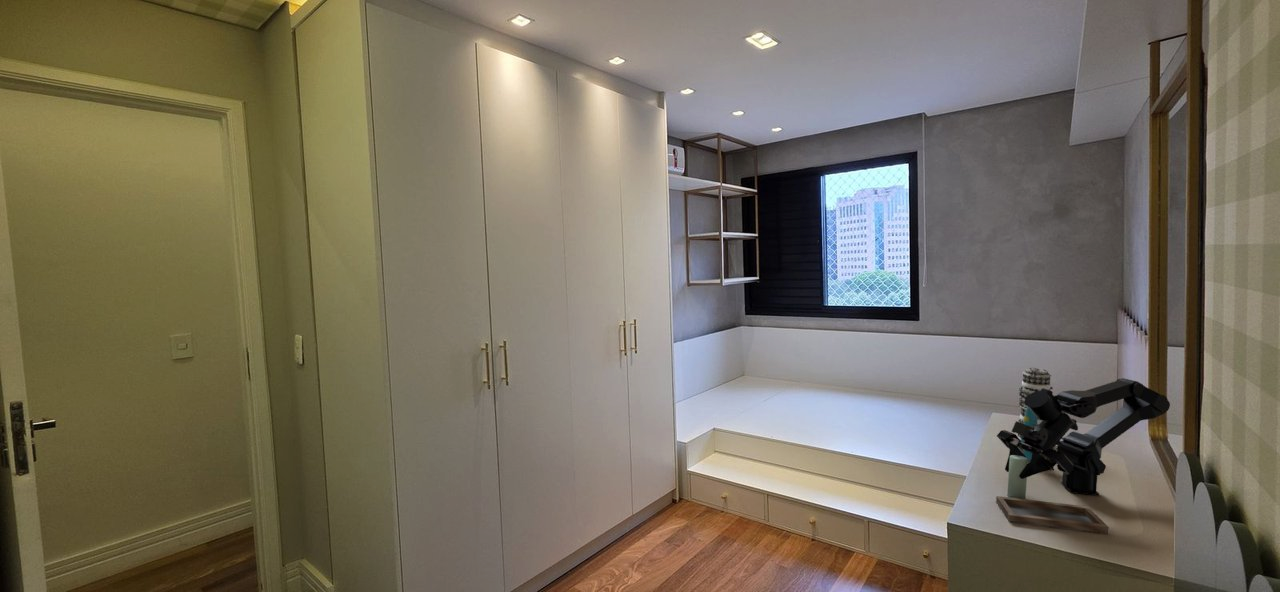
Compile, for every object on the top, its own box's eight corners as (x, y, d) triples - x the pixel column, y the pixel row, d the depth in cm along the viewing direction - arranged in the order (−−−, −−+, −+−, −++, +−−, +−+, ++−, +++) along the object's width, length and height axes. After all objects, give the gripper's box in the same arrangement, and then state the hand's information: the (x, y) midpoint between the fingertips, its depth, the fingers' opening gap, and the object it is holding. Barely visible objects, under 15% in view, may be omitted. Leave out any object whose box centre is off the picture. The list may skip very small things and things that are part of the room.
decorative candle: (1056, 446, 181) (1061, 372, 178) (1028, 446, 181) (1032, 373, 178) (1036, 436, 190) (1041, 366, 187) (1010, 436, 190) (1014, 366, 187)
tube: (1020, 453, 175) (1023, 395, 173) (1039, 457, 172) (1042, 398, 170) (1017, 461, 169) (1021, 401, 167) (1037, 465, 166) (1040, 404, 164)
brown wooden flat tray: (1087, 513, 137) (1087, 506, 137) (1108, 534, 127) (1108, 527, 127) (996, 502, 143) (996, 495, 143) (1009, 522, 133) (1009, 515, 133)
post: (1022, 494, 147) (1024, 455, 146) (1027, 501, 143) (1030, 461, 142) (1005, 493, 148) (1007, 454, 147) (1010, 499, 144) (1012, 459, 143)
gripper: (1004, 401, 153) (968, 442, 152) (1067, 423, 135) (1027, 470, 134) (1026, 426, 155) (991, 467, 155) (1091, 451, 137) (1052, 497, 136)
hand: (1013, 474), depth 145 cm, fingers closed on post, 4 cm apart
